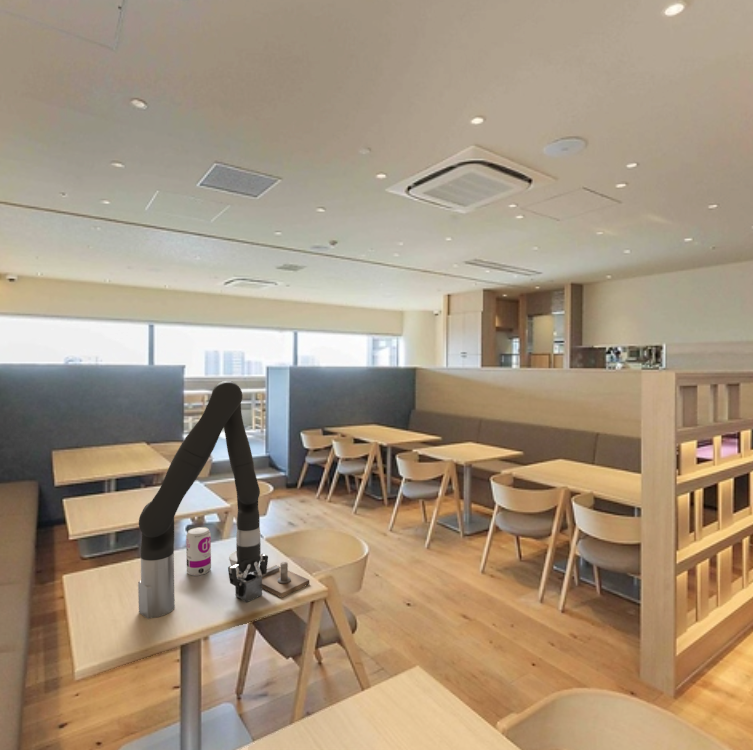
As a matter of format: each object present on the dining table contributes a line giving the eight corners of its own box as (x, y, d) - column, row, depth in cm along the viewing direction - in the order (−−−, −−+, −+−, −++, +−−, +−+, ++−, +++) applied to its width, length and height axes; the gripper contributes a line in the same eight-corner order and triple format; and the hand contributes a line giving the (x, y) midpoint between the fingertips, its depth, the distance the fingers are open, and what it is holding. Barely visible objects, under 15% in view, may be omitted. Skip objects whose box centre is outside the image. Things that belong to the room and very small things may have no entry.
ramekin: (253, 577, 168) (253, 562, 168) (223, 574, 170) (223, 560, 170) (265, 563, 179) (265, 549, 179) (237, 561, 181) (237, 547, 181)
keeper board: (281, 597, 154) (281, 574, 153) (248, 580, 165) (248, 559, 165) (309, 584, 163) (309, 562, 163) (276, 569, 174) (275, 548, 174)
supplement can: (215, 569, 174) (215, 529, 173) (196, 578, 167) (195, 536, 166) (201, 564, 178) (200, 524, 178) (181, 572, 171) (181, 531, 171)
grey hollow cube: (246, 602, 150) (246, 583, 150) (235, 596, 154) (235, 577, 154) (262, 594, 155) (262, 576, 155) (251, 589, 159) (250, 571, 159)
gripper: (235, 551, 146) (236, 604, 147) (273, 537, 157) (274, 587, 158) (222, 544, 151) (222, 597, 152) (259, 532, 162) (260, 580, 163)
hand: (248, 592), depth 155 cm, fingers closed on grey hollow cube, 6 cm apart
